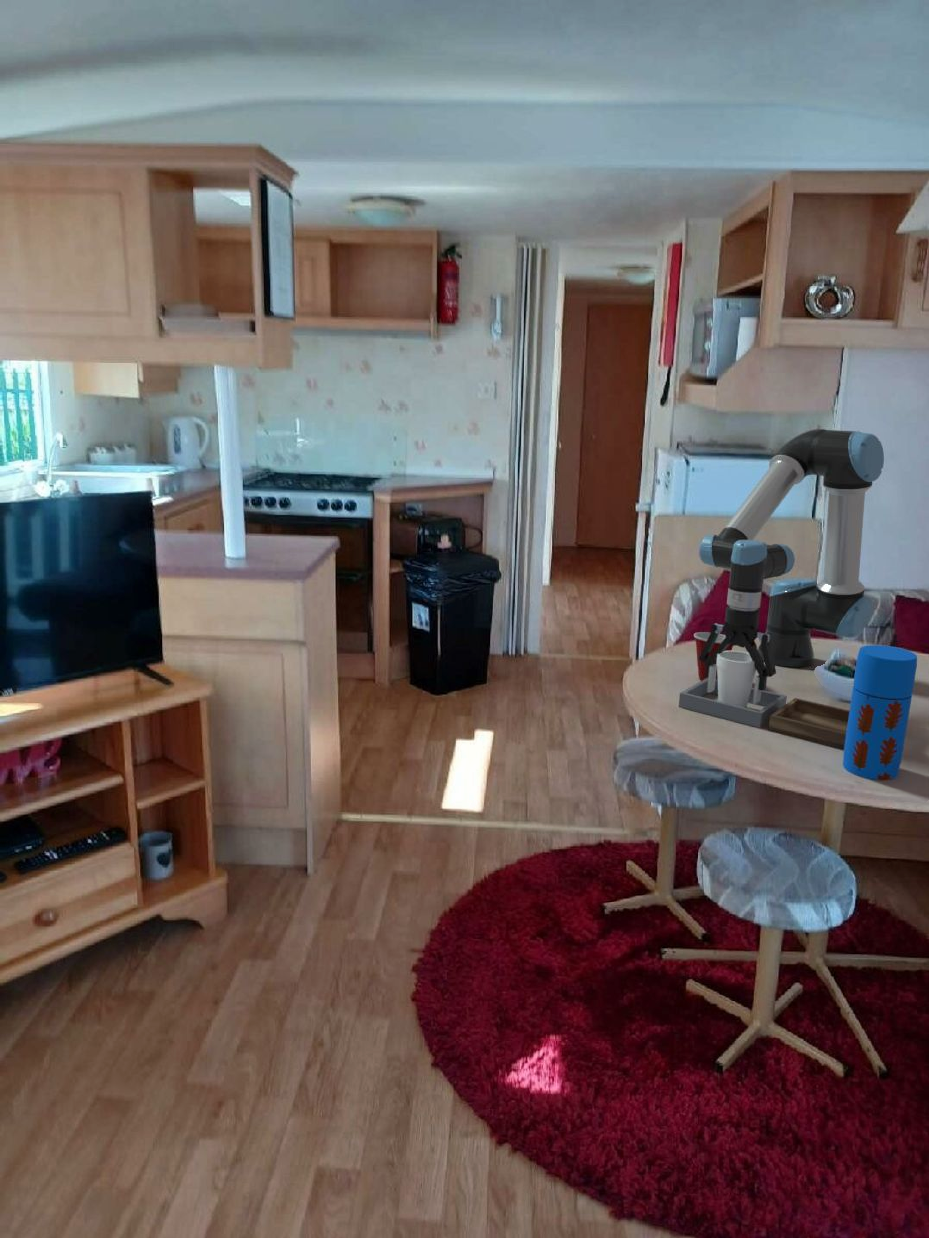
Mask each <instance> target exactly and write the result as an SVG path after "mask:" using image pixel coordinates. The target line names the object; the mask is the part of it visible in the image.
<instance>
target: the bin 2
mask: <svg viewBox="0 0 929 1238" xmlns="http://www.w3.org/2000/svg"><path fill="white" fill-rule="evenodd" d="M849 711H850V709H849V710H848V709H844V708H839V707H835V706H831V705H828V704H827V705H826V704H823V703H818V702H814V701H810V700H806V699H802V698H797V697H794V698H793V699H792V700H790V701H789V702H786V705H784V706H783V707H782V708H780V709H779V710H777V711H776V712H775V713H773V714H772V715H770V721H769V722H768V731H769V732H770V731H771V732H774V733H778V734H782V735H784V736H790V737H793V738H796V739H797V738H798V739H801V740H805V741H809V742H812V743H817V744H821V745H824V746H826V747H827V746H829V747H831V748H835V749H840V750H843V751H844V745H845V739H846V732H847V725H848V718H849Z"/></svg>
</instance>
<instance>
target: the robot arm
mask: <svg viewBox="0 0 929 1238" xmlns="http://www.w3.org/2000/svg"><path fill="white" fill-rule="evenodd" d="M884 453H885V452H884V447H883V445H882V442H881V440H879V438H878V437H877V436H876V435H874V434H873V433H867V432H861V431H860V430H857V431H855V430H854V431H853V430H835V429H834V430H833V429H825V428H824V429H823V428H818V429H817V428H816V429H815V428H814V429H811V430H807V431H805V432H802V433H800V434H799V435H797V436H795V437H793V438H792V439H790V440H789V441H787V442H786V443H785V444H784V445H783V446H782V447H780V448H779V449H777V451H776V453H775V454H774V455H773V456H772V458H771V459H770V460H769V464H768V465H769V466H768V467H769V468H768V470H767V471H766V472H765V473H764V474H763V477H761V479H760V480H759V481H758V483H757V484H756V486H755V487H754V488H753V489H752V491H751V492H750V494H748V496H747V497H746V499H745V500H744V501H743V502H742V504H741V505H740V507H739V508H738V509H737V511H736V512H734V515H732V517H731V518H730V520H729V521H728V522H727V524H726V525H725V526H724V528H723V529H722V530H721V531H720V533H719V534H718V535H717V534H708V535H705V536H704V537H703V538H702V540H701V541H700V543H699V548H698V555H699V556H698V557H700V558H699V559H700V560H701V562H702V563H704V564H705V565H708V566H712V567H715V568H721V569H727V570H730V571H729V572H730V573H729V583H728V589H727V591H728V592H727V600H726V604H727V605H728V606H727V607H726V608H725V616H724V624H720V623H719V622H716V623H713V624H711V625H710V632H709V633H710V635H709V637H708V640H707V642H706V644H705V646H704V648H703V650H702V652H701V655H700V657H699V661H702V662H704V663H705V664H706V671H705V677H706V678H708V686H707V692H708V693H707V694H711V693H710V692H712V691H714V689H715V680H716V671H717V664H713V663H714V662H715V661H716V660H717V654H720V653H722V652H723V651H724V650H725V649H726V648H727V647H728V646H729V645H730V644H731V645H733V647H734V646H736V647H740V648H743V649H744V648H745V650H746V652H747V653H749V655H750V657H751V659H752V661H754V665H755V667H756V672H757V673H758V675H756V676H755V679H754V680H755V682H754V687H753V688H754V697H753V703H752V704H754V705H758V704H757V703H758V702H760V699H761V690H762V691H763V690H764V691H765V690H766V687H767V681H768V678H769V677H770V678H771V677H773V676H774V675H776V674H777V669H776V666H781V667H785V668H786V667H789V668H800V667H801V668H803V667H809V666H811V665H813V664H814V660H815V653H814V649H813V645H812V644H813V643H812V640H811V631H812V630H813V631H817V632H823V633H825V634H829V635H833V636H834V635H835V636H836V637H844V638H849V639H850V638H856V637H858V636H859V635H860V634H861V633H862V632H863V631H864V629H865V628H866V626H867V625H868V622H869V620H870V618H871V615H872V611H873V600H872V598H871V597H869V596H867V595H865V586H864V584H863V583H862V582H861V581H860V579H859V578H860V570H861V569H860V567H861V566H860V565H861V555H862V554H861V553H862V551H861V550H862V537H863V526H864V512H865V511H864V510H865V501H866V500H865V497H866V492H867V491H868V490H869V489H871V488H872V487H873V482H875V481H876V480H878V479H879V478H880V477H881V475H882V469H883V468H884V464H885V463H884V462H885V454H884ZM812 475H815V476H820V477H823V478H822V479H823V483H822V486H823V488H825V489H826V491H828V501H827V502H828V503H827V518H826V519H827V520H826V522H827V523H826V536H825V537H826V538H825V553H824V554H825V555H824V556H825V557H824V568H823V569H824V571H823V579H822V580H821V581H819V582H818V581H817V580H816V579H813V578H809V577H808V578H807V577H790V578H788V577H787V578H781V579H778V580H774V582H773V583H772V585H771V590H770V594H769V605H768V614H767V622H766V630H765V633H764V632H759V628H758V627H759V622H760V621H759V619H760V613H761V612H760V609H759V608H761V604H762V594H763V584H764V580H766V579H771V578H779V577H781V576H784V575H786V574H788V573H790V572H791V570H792V569H793V567H794V566H795V561H796V560H795V555H794V551H793V550H792V548H791V547H789V546H788V545H786V544H783V543H780V544H779V543H773V544H766V542H764V541H760V540H756V539H755V538H756V536H758V534H759V533H760V532H761V530H762V529H763V527H764V526H765V524H767V522H768V521H769V519H770V518H771V517H772V515H773V514H774V513H775V511H776V509H777V508H779V506H780V505H781V503H782V502H783V500H784V499H785V498H786V496H787V495H788V494H789V493H790V491H791V490H792V488H793V487H794V486H795V485H798V484H800V483H801V482H802V481H803V480H804V479H805V478H806V477H807V476H812ZM722 632H723V635H725V636H726V638H725V639H724V640H723V641H722V643H721V644H720V646H719V647H718V648H717V649H716V650H715V651H714V653H713V654H712V655H711V656H710V657H708V656H709V654H710V652H711V650H712V647H713V645H714V643H715V641H716V639H717V637H718V635H719V634H721V633H722ZM756 639H758V640H759V645H757V643H756V641H755V640H756Z"/></svg>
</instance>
